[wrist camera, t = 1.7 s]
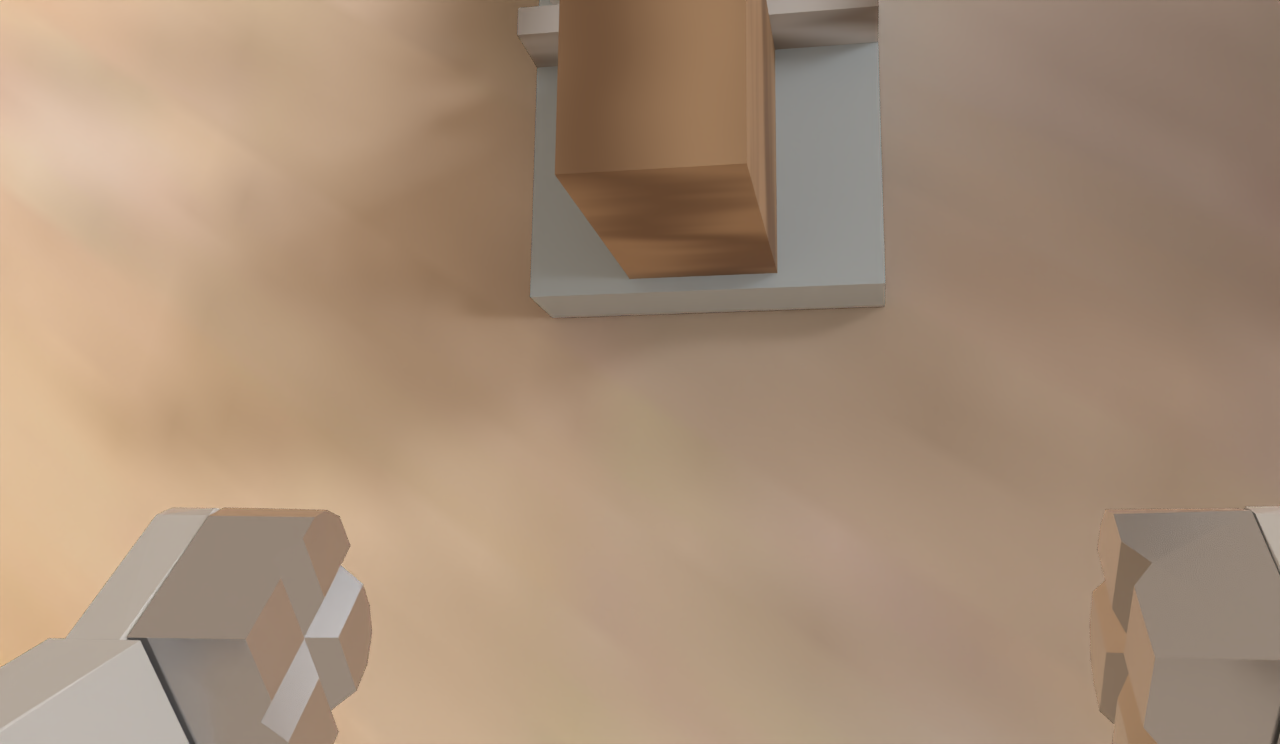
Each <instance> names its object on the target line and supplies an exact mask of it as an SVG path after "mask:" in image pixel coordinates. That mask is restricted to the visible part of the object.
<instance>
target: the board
mask: <svg viewBox="0 0 1280 744" xmlns="http://www.w3.org/2000/svg"><path fill="white" fill-rule="evenodd" d="M546 5H552V3H551V1H550V0H539V6H546ZM557 73H558V66H552V67H539V68H537V88H536V120H535V152H534V185H533V217H532V249H531V281H530V298H532V299H533V300H534V301H535V302H536V303H537V304H538V305H539V306H540V307H541V308H542V309H543V310H544V311H545V312H547V313H548V314H549V315H550V316H551V317H552V318H566V317H595V316H623V315H652V314H680V313H709V312H737V311H765V310H794V309H822V308H851V307H879V306H885V253H884V219H883V185H882V151H881V118H880V84H879V50H878V42H871V43H858V44H844V45H831V46H818V47H804V48H791V49H778V50H775V96H776V185H777V273H764V274H740V275H715V276H691V277H666V278H642V279H629V277H628V276H627V274H626V273H625V272H624V270H623V269H622V267H621V266H620V265H619V263H618V262H617V260H616V259H615V258H614V256H613V255H612V253H611V252H610V251H609V249H608V248H607V247H606V245H605V244H604V242H603V241H602V240H601V238H600V237H599V235H598V234H597V233H596V231H595V230H594V228H593V227H592V226H591V224H590V223H589V222H588V220H587V219H586V217H585V216H584V215H583V213H582V212H581V210H580V209H579V208H578V206H577V205H576V203H575V202H574V201H573V199H572V198H571V197H570V195H569V194H568V192H567V191H566V190H565V188H564V187H563V185H562V184H561V183H560V181H559V180H558V178H557V177H556V176H555V146H556V109H557Z"/></svg>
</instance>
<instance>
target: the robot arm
mask: <svg viewBox="0 0 1280 744" xmlns="http://www.w3.org/2000/svg"><path fill="white" fill-rule="evenodd" d="M349 548H350V543H349V540H348V538H347V535H346V532H345V530H344V527H343V524H342V522H341V519H340V516H338V515H336V514H334V513H332V512H330V511H328V510H309V509H265V508H222V509H217V508H176V507H172V508H170V509H168V510H166V511H163V512H161V513H159V514H157V515H156V516H155V517H154V518H153V520H152V521H151V522H150V524H149V525H148V527H147V528H146V529H145V531H144V532H143V533H142V535H141V536H140V537H139V539H138V540H137V542H136V543H135V544H134V546H133V547H132V548H131V550H130V551H129V552H128V554H127V555H126V557H125V558H124V559H123V561H122V562H121V563H120V565H119V566H118V567H117V569H116V570H115V571H114V573H113V574H112V576H111V577H110V578H109V580H108V581H107V582H106V584H105V585H104V586H103V588H102V589H101V591H100V592H99V593H98V595H97V596H96V597H95V599H94V600H93V601H92V603H91V604H90V606H89V607H88V608H87V610H86V611H85V612H84V614H83V615H82V616H81V618H80V619H79V620H78V622H77V623H76V625H75V626H74V627H73V629H72V630H71V631H70V633H69V634H68V635H67V637H66V638H65V639H52V638H49V639H47V640H45V641H44V642H42V643H40V644H39V645H37V646H35V647H34V648H32V649H30V650H29V651H27V652H25V653H24V654H22V655H20V656H19V657H17V658H15V659H14V660H12V661H10V662H9V663H7V664H5V665H4V666H2V667H0V744H334V741H335V739H336V737H337V735H338V729H337V726H336V723H335V720H334V718H333V715H332V712H331V710H332V709H333V708H335V707H336V706H337V705H339V704H340V703H341V702H342V701H344V700H345V699H346V698H348V697H349V696H350V695H352V694H353V693H354V692H355V691H357V688H358V686H359V683H360V681H361V678H362V676H363V674H364V671H365V669H366V666H367V663H368V656H369V650H370V643H371V636H372V624H371V614H370V605H369V602H368V599H367V595H366V592H365V589H364V586H363V584H362V583H361V582H360V581H359V580H357V579H356V578H355V577H354V576H353V575H352V574H350V573H349V572H348V571H347V570H346V569H345V568H343V567H342V566H341V564H342V562H343V560H344V558H345V556H346V554H347V552H348V550H349ZM1097 550H1098V554H1099V558H1100V562H1101V566H1102V570H1103V574H1104V579H1105V581H1104V582H1103V583H1102V584H1101V585H1099V586H1098V587H1097V588H1096V589H1095V590H1094V591H1093V592H1092V602H1091V614H1090V660H1091V667H1092V674H1093V681H1094V687H1095V692H1096V697H1097V702H1098V706H1099V711H1100V712H1101V713H1102V714H1103V715H1104V716H1105V717H1107V718H1108V719H1109V720H1110V721H1111V722H1112V723H1113V724H1114V731H1113V739H1112V744H1280V506H1255V507H1245V508H1244V509H1239V508H1219V509H1105V512H1104V515H1103V518H1102V521H1101V524H1100V531H1099V539H1098V547H1097Z"/></svg>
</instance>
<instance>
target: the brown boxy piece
mask: <svg viewBox="0 0 1280 744" xmlns="http://www.w3.org/2000/svg"><path fill="white" fill-rule="evenodd" d="M517 36H518V37H519V39H520V40H521V42H522V44H523V45H524V47H525V49H526V50H527V52H528V54H529V55H530V57H531V58H532V60H533V62H534V63H535V65H536V67H537V68H539V67H552V66H558V73H557V109H556V146H555V176H556V177H557V178H558V180H559V181H560V183H561V184H562V185H563V187H564V188H565V190H566V191H567V192H568V194H569V195H570V197H571V198H572V199H573V201H574V202H575V203H576V205H577V206H578V208H579V209H580V210H581V212H582V213H583V215H584V216H585V217H586V219H587V220H588V222H589V223H590V224H591V226H592V227H593V228H594V230H595V231H596V233H597V234H598V235H599V237H600V238H601V240H602V241H603V242H604V244H605V245H606V247H607V248H608V249H609V251H610V252H611V253H612V255H613V256H614V258H615V259H616V260H617V262H618V263H619V265H620V266H621V267H622V269H623V270H624V272H625V273H626V274H627V276H628V277H629V279H642V278H666V277H691V276H715V275H740V274H764V273H777V185H776V96H775V50H778V49H791V48H804V47H818V46H831V45H844V44H858V43H871V42H878V0H559V4H558V5H546V6H535V7H523V8H518V27H517Z"/></svg>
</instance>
